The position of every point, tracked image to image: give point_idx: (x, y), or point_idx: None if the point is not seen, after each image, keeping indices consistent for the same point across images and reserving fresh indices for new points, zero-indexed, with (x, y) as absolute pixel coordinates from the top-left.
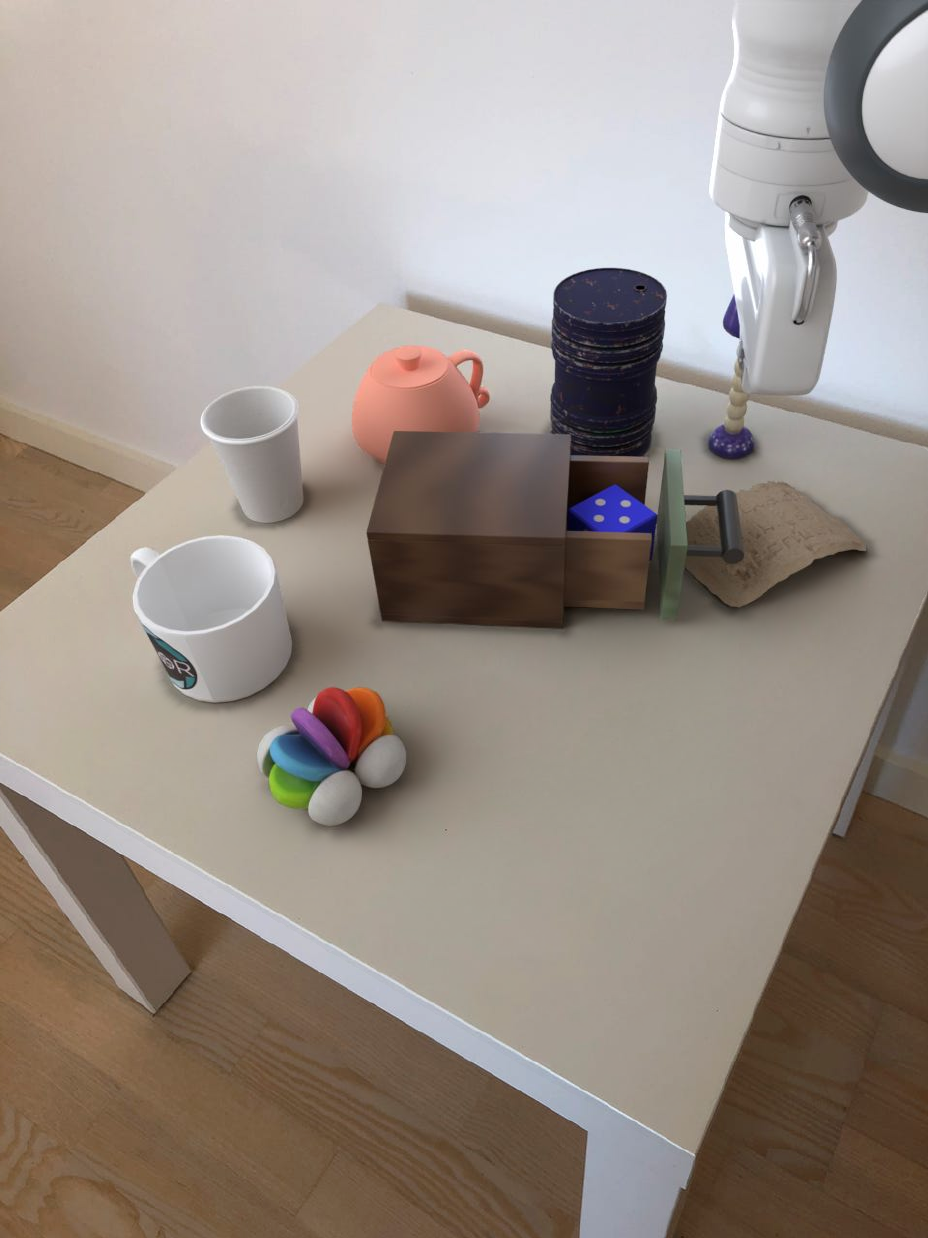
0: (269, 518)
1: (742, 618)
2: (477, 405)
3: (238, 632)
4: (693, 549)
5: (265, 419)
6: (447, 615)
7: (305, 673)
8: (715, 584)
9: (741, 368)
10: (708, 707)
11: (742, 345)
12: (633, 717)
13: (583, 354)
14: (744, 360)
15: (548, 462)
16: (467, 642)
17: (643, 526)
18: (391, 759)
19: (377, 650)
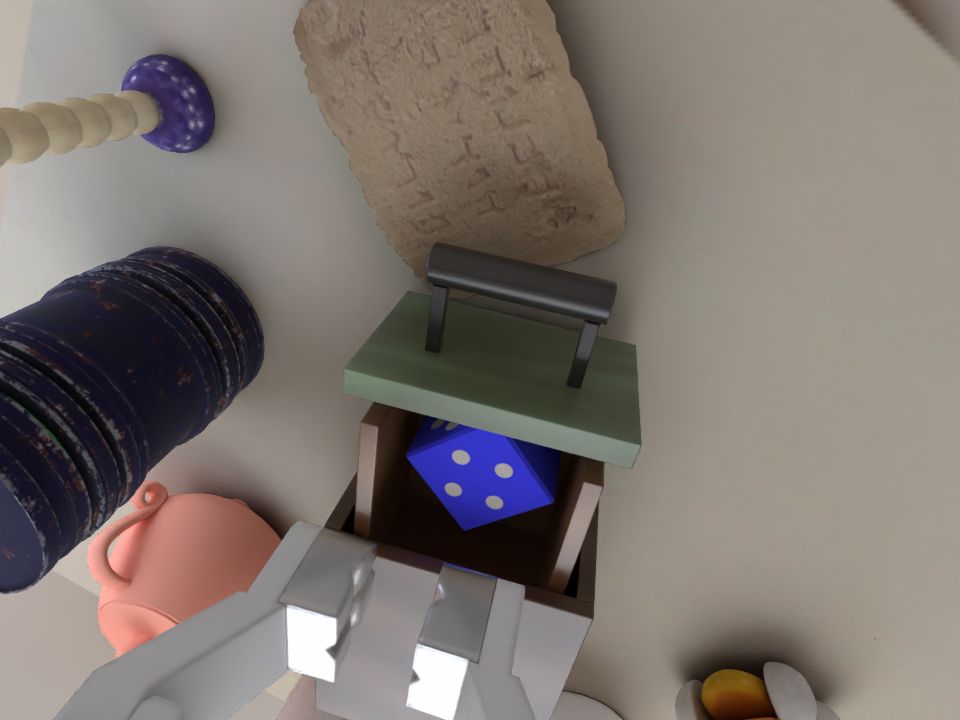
0: None
1: (640, 226)
2: (173, 511)
3: None
4: (581, 371)
5: None
6: None
7: (607, 688)
8: (558, 253)
9: (369, 595)
10: (816, 336)
11: (315, 674)
12: (792, 434)
13: (109, 513)
14: (424, 711)
15: (394, 585)
16: (598, 565)
17: (518, 441)
18: (809, 712)
19: (589, 636)
